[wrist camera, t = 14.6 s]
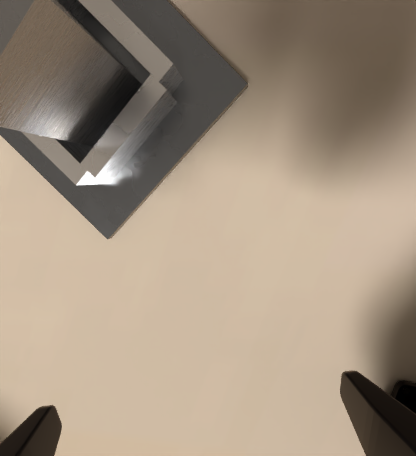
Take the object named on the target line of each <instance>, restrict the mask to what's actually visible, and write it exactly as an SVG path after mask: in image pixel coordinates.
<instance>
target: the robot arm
mask: <svg viewBox="0 0 416 456" xmlns="http://www.w3.org/2000/svg"><path fill="white" fill-rule="evenodd" d="M404 388H406V389H405V390H403V389H404ZM340 394H341V398H342V401H343V403H344V405H345V408H346V410H347V412H348V415H349V417H350V419H351V422H352V424H353V426H354V429H355V431H356V434H357V436H358V438H359V441H360V443H361V445H362V448H363V450H364V452H365V454H366V456H416V383H413V382H408V381H399V382H397V383H396V385H395V387H394V390H393V393H392V395H391V396H390V395H389V394H388V393H386V392H385V391H383V390H382V389H381V388H379V387H378V386H377V385H375V384H374V383H373V382H371V381H370V380H368V379H367V378H366V377H364V376H363V375H362V374H360V373H359V372H357V371H345V372H343V373H342V377H341V386H340ZM61 429H62V424H61V421H60V418H59V415H58V413H57V410H56V408H55V406H53V405H49V406H42V407H39V408H38V409H36V410H35V411H34V412H33V413H32V414H31V415H30V416H29V417H28V418H27V419H26V420H25V421H24V422H23V423H22V424H21V425H20V426H19V427H18V428H16V429H15V430H14V431H13V432H12V433H11V434H10V435H9V436H8V437H7V438H6V439H5V440H4V441H3V442H2V443H1V444H0V456H54V455H55V451H56V448H57V444H58V441H59V437H60V434H61Z"/></svg>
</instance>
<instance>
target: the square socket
mask: <svg viewBox="0 0 416 456" xmlns="http://www.w3.org/2000/svg"><path fill="white" fill-rule="evenodd" d="M58 1H59V2H60V3H61V4H62V5H63V6H64V7H65V8H66V9H67V10H68V11H69V12H70V13H71V14H72V15H73V16H74V17H76V18H77V19H78V20H79V21H80V22H81V23H82V24H83V25H84V26H85V27H86V28H87V29H88V30H89V31H90V32H91V33H92V34H93V35H94V36H95V37H96V38H97V39H98V40H99V41H100V42H101V43H102V44H103V45H104V46H105V47H106V48H107V49H108V50H109V51H110V52H111V53H112V54H113V55H114V56H115V57H116V58H117V59H118V60H119V61H120V62H121V63H122V64H123V65H124V66H125V67H126V68H127V69H128V70H129V71H130V72H131V73H132V74H133V75H134V76H135V77H136V78H137V79H138V80H139V81H140V82H141V83H142V84H143V85H142V86H141V87H140V88H139V90H138V91H137V92H136V93H135V95H134V96H133V97H132V99H131V100H130V101H129V102H128V104H127V105H126V106H125V107H124V109H123V110H122V111H121V112H120V114H119V115H118V116H117V118H116V119H115V120H114V121H113V123H112V124H111V125H110V126H109V128H108V129H107V130H106V132H105V133H104V134H103V135H102V137H101V138H100V139H99V140H98V142H97V143H96V144H95V146H94V147H93V146H88V145H83V144H79V143H74V142H69V141H64V140H60V139H55V138H50V137H45V136H41V135H36V134H31V133H27V132H22V131H17V130H12V129H8V128H3V127H0V135H1V136H2V137H3V138H4V139H5V140H6V141H7V142H8V143H9V144H10V145H11V146H12V147H13V148H14V149H15V150H16V151H17V152H18V153H19V154H20V155H22V156H23V157H24V158H25V159H26V160H27V161H28V162H29V163H30V164H31V165H32V166H33V167H34V168H35V169H36V170H37V171H38V172H39V173H40V174H41V175H42V176H43V177H44V178H45V179H46V180H47V181H48V182H49V183H50V184H51V185H52V186H53V187H54V188H55V189H56V190H57V191H58V192H59V193H60V194H62V195H63V196H64V197H65V198H66V199H67V200H68V201H69V202H70V203H71V204H72V205H73V206H74V207H75V208H76V209H77V210H78V211H79V212H80V213H81V214H82V215H83V216H84V217H85V218H86V219H87V220H88V221H89V222H90V223H91V224H92V225H93V226H94V227H95V228H96V229H97V230H98V231H99V232H100V233H102V234H103V235H104V236H105V237H106V238H107V239H110V238H112V237H113V236H114V235H115V234H116V232H117V231H118V230H119V229H120V228H121V227H122V226H123V225H124V224H125V222H126V221H127V220H128V219H129V218H130V217H131V216H132V215H133V214H134V212H135V211H136V210H137V209H138V208H139V207H140V206H141V205H142V204H143V202H144V201H145V200H146V199H147V198H148V197H149V196H150V195H151V194H152V192H153V191H154V190H155V189H156V188H157V187H158V186H159V185H160V184H161V182H162V181H163V180H164V179H165V178H166V177H167V176H168V175H169V174H170V172H171V171H172V170H173V169H174V168H175V167H176V166H177V165H178V164H179V162H180V161H181V160H182V159H183V158H184V157H185V156H186V155H187V154H188V152H189V151H190V150H191V149H192V148H193V147H194V146H195V145H196V144H197V142H198V141H199V140H200V139H201V138H202V137H203V136H204V135H205V134H206V132H207V131H208V130H209V129H210V128H211V127H212V126H213V125H214V124H215V122H216V121H217V120H218V119H219V118H220V117H221V116H222V115H223V114H224V113H225V111H226V110H227V109H228V108H229V107H230V106H231V105H232V104H233V103H234V101H235V100H236V99H237V98H238V97H239V96H240V95H241V94H242V93H243V91H244V90H245V89H246V88H247V87H248V83H247V82H246V81H245V80H244V79H243V78H242V77H241V76H240V75H239V74H238V73H237V72H236V71H235V70H234V69H233V68H232V67H231V66H230V65H229V64H228V63H227V62H226V61H225V60H224V59H223V58H222V57H221V56H220V55H219V54H218V53H217V52H216V51H215V50H214V48H213V47H212V46H211V45H210V44H209V43H208V42H207V41H206V40H205V39H204V38H203V37H202V36H201V35H200V34H199V33H198V32H197V31H196V30H195V29H194V28H193V27H192V26H191V25H190V24H189V23H188V22H187V21H186V20H185V19H184V18H183V17H182V16H181V15H180V14H179V12H178V11H177V10H176V9H175V8H174V7H173V6H172V5H171V4H170V3H169V2H168V1H167V0H58Z"/></svg>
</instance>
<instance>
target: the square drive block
mask: <svg viewBox="0 0 416 456" xmlns="http://www.w3.org/2000/svg"><path fill="white" fill-rule="evenodd" d="M142 85H143V84H142V83H141V82H140V81H139V80H138V79H137V78H136V77H135V76H134V75H133V74H132V73H131V72H130V71H129V70H128V69H127V68H126V67H125V66H124V65H123V64H122V63H121V62H120V61H119V60H118V59H117V58H116V57H115V56H114V55H113V54H112V53H111V52H110V51H109V50H108V49H107V48H106V47H105V46H104V45H103V44H102V43H101V42H100V41H99V40H98V39H97V38H96V37H95V36H94V35H93V34H92V33H91V32H90V31H89V30H88V29H87V28H86V27H85V26H84V25H83V24H82V23H81V22H80V21H79V20H78V19H77V18H76V17H74V16H73V15H72V14H71V13H70V12H69V11H68V10H67V9H66V8H65V7H64V6H63V5H62V4H61V3H60V2H59V1H58V0H0V127H3V128H8V129H12V130H17V131H22V132H27V133H31V134H36V135H41V136H45V137H50V138H55V139H60V140H64V141H69V142H74V143H79V144H83V145H88V146H93V147H94V146H95V144H96V143H97V142H98V140H99V139H100V138H101V137H102V135H103V134H104V133H105V132H106V130H107V129H108V128H109V126H110V125H111V124H112V123H113V121H114V120H115V119H116V118H117V116H118V115H119V114H120V112H121V111H122V110H123V109H124V107H125V106H126V105H127V104H128V102H129V101H130V100H131V99H132V97H133V96H134V95H135V93H136V92H137V91H138V90H139V88H140V87H141V86H142Z"/></svg>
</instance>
